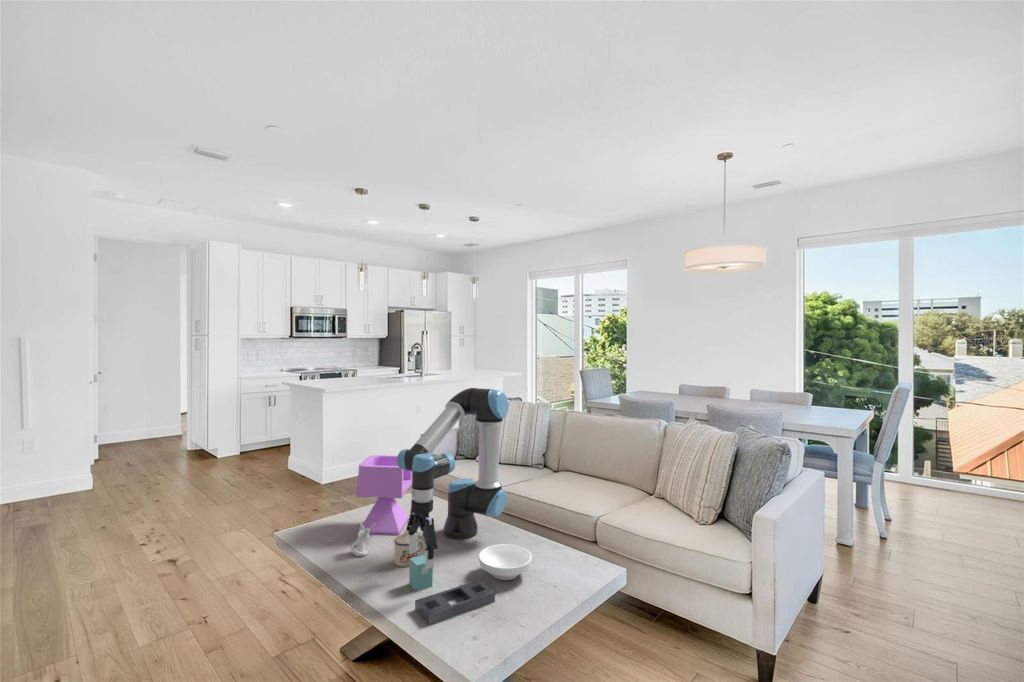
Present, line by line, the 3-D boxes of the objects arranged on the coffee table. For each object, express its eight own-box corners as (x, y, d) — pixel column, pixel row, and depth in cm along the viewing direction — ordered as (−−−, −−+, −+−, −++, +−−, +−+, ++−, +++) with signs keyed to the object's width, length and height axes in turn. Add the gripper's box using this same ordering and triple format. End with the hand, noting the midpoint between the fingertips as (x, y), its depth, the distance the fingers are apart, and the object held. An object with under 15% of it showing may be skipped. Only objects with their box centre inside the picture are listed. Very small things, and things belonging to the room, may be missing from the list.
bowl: (537, 567, 185) (538, 549, 185) (521, 593, 167) (522, 572, 167) (490, 558, 192) (490, 540, 192) (469, 582, 173) (470, 562, 173)
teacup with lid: (399, 569, 181) (400, 538, 181) (390, 560, 189) (390, 530, 188) (428, 561, 188) (429, 531, 188) (418, 552, 196) (419, 523, 195)
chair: (400, 536, 211) (402, 467, 210) (355, 535, 211) (356, 466, 211) (411, 518, 231) (412, 455, 230) (369, 517, 231) (370, 454, 231)
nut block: (424, 579, 175) (425, 554, 175) (432, 586, 170) (432, 560, 170) (409, 583, 171) (409, 558, 171) (416, 591, 166) (416, 565, 166)
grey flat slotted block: (479, 588, 169) (479, 579, 169) (494, 601, 161) (495, 592, 161) (414, 609, 155) (415, 600, 155) (428, 625, 147) (428, 615, 147)
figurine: (357, 560, 189) (358, 529, 189) (346, 553, 194) (347, 523, 194) (381, 550, 197) (381, 521, 197) (370, 545, 202) (370, 516, 202)
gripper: (398, 491, 178) (396, 549, 178) (428, 512, 158) (426, 577, 158) (417, 488, 183) (415, 544, 183) (448, 508, 162) (446, 571, 162)
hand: (420, 560), depth 170 cm, fingers open, 13 cm apart
